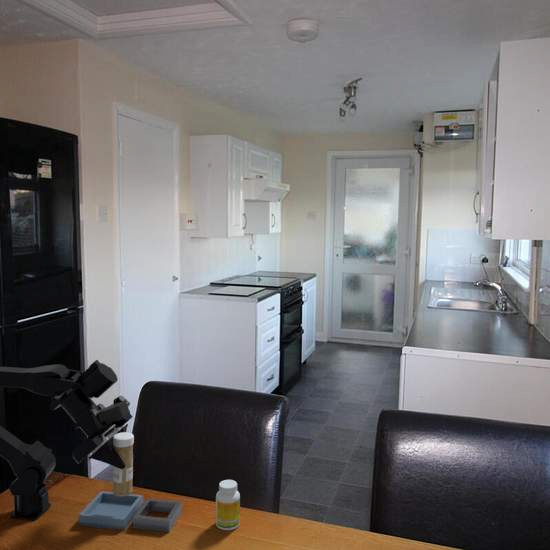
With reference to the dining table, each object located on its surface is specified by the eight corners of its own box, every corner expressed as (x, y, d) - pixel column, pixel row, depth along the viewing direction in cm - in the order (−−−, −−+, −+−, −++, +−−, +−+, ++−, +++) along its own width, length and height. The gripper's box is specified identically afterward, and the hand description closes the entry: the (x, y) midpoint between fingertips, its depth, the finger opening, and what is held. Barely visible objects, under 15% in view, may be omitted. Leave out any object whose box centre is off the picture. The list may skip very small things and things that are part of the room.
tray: (79, 525, 119) (78, 514, 118) (101, 501, 129) (101, 491, 129) (124, 530, 117) (124, 519, 117) (143, 505, 127) (143, 495, 127)
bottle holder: (132, 528, 118) (132, 517, 118) (147, 508, 126) (147, 498, 126) (169, 532, 117) (169, 521, 116) (181, 511, 125) (181, 501, 125)
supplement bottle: (213, 520, 122) (213, 479, 121) (236, 516, 124) (236, 476, 123) (219, 533, 117) (219, 491, 116) (242, 528, 118) (243, 487, 118)
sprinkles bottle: (135, 494, 121) (136, 437, 120) (115, 499, 119) (116, 440, 117) (129, 485, 125) (130, 430, 124) (109, 490, 123) (110, 433, 121)
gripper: (86, 402, 111) (136, 459, 110) (125, 377, 129) (168, 426, 129) (51, 435, 113) (99, 491, 112) (94, 405, 131) (136, 454, 131)
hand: (128, 463), depth 121 cm, fingers closed on sprinkles bottle, 4 cm apart
